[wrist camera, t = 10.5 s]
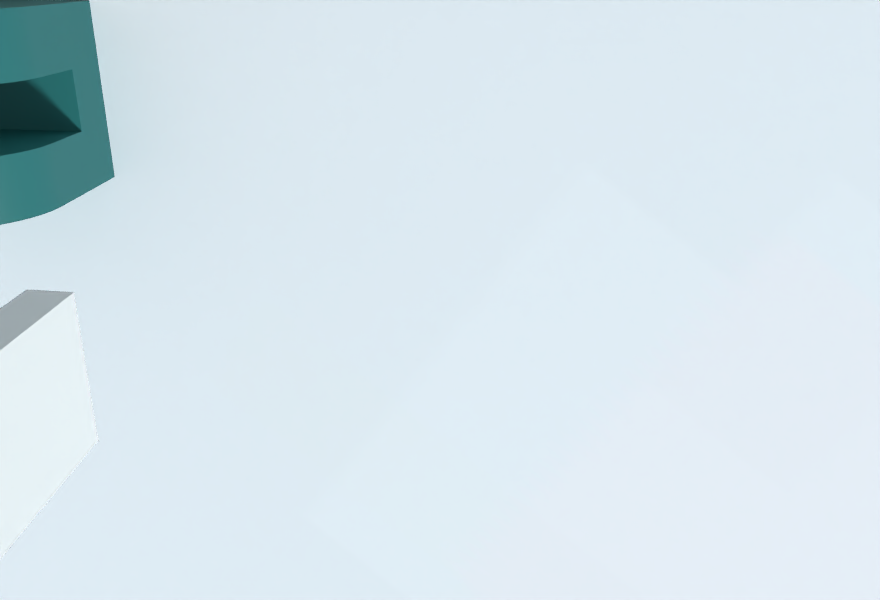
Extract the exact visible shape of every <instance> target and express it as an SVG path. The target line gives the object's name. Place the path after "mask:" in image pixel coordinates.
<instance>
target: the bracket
mask: <svg viewBox="0 0 880 600" xmlns="http://www.w3.org/2000/svg"><path fill="white" fill-rule="evenodd" d="M113 177H114V170H113V163H112V156H111V149H110V142H109V135H108V128H107V121H106V114H105V107H104V100H103V93H102V86H101V79H100V73H99V66H98V59H97V52H96V45H95V38H94V31H93V24H92V17H91V10H90V3H89V1H79V0H0V225H1V224H6V223H11V222H16V221H20V220H24V219H28V218H32V217H35V216H39V215H42V214H45V213H48V212H50V211H53V210H55V209H57V208H59V207H61V206H63V205H65V204H67V203H68V202H70V201H72V200H74V199H76V198H77V197H79V196H81V195H83V194H85V193H86V192H88V191H90V190H92V189H94V188H95V187H97V186H99V185H101V184H102V183H104V182H106V181H108V180H110V179H111V178H113Z"/></svg>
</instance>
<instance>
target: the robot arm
mask: <svg viewBox="0 0 880 600" xmlns="http://www.w3.org/2000/svg"><path fill="white" fill-rule="evenodd" d="M97 442H98V435H97V429H96V423H95V417H94V411H93V405H92V399H91V392H90V386H89V380H88V374H87V368H86V362H85V356H84V350H83V344H82V338H81V332H80V326H79V320H78V314H77V308H76V302H75V296H74V292H60V291H41V290H26V291H24V292H23V293H21V294H20V295H18V296H17V297H16V298H14V299H13V300H11V301H10V302H9V303H7V304H6V305H4V306H3V307H1V308H0V560H1V558H2V557H3V556H4V555H5V554H6V552H7V551H8V550H9V549H10V548H11V546H12V545H13V544H14V543H15V541H16V540H17V539H18V538H19V537H20V535H21V534H22V533H23V532H24V531H25V529H26V528H27V527H28V526H29V525H30V523H31V522H32V521H33V520H34V518H35V517H36V516H37V515H38V514H39V512H40V511H41V510H42V509H43V508H44V506H45V505H46V504H47V503H48V502H49V500H50V499H51V498H52V497H53V495H54V494H55V493H56V492H57V491H58V489H59V488H60V487H61V486H62V485H63V483H64V482H65V481H66V480H67V479H68V477H69V476H70V475H71V474H72V472H73V471H74V470H75V469H76V468H77V466H78V465H79V464H80V463H81V462H82V460H83V459H84V458H85V457H86V456H87V454H88V453H89V452H90V451H91V449H92V448H93V447H94V446H95V445H96V443H97Z"/></svg>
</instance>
